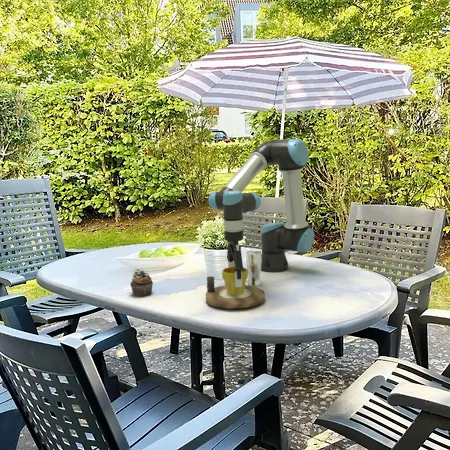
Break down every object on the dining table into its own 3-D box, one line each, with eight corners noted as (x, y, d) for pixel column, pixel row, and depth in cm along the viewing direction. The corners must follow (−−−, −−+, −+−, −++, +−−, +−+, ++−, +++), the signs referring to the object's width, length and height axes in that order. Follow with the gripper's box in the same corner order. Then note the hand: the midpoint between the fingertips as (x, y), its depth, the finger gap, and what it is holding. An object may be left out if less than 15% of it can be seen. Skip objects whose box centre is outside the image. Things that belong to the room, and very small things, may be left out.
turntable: (256, 287, 207) (256, 269, 206) (272, 305, 184) (271, 285, 182) (201, 291, 203) (201, 273, 201) (210, 310, 179) (210, 290, 178)
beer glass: (244, 283, 217) (243, 251, 214) (257, 281, 220) (257, 249, 217) (250, 287, 211) (250, 254, 208) (264, 285, 213) (264, 252, 211)
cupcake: (158, 293, 206) (156, 271, 204) (139, 299, 199) (138, 275, 198) (144, 289, 213) (143, 267, 211) (126, 294, 206) (125, 272, 204)
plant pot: (246, 297, 186) (245, 273, 185) (220, 296, 188) (219, 272, 187) (249, 289, 196) (249, 266, 195) (225, 288, 198) (224, 266, 197)
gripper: (218, 225, 200) (220, 274, 204) (230, 237, 176) (232, 292, 179) (236, 224, 201) (237, 272, 205) (250, 235, 177) (251, 290, 181)
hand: (235, 281), depth 192 cm, fingers open, 13 cm apart
